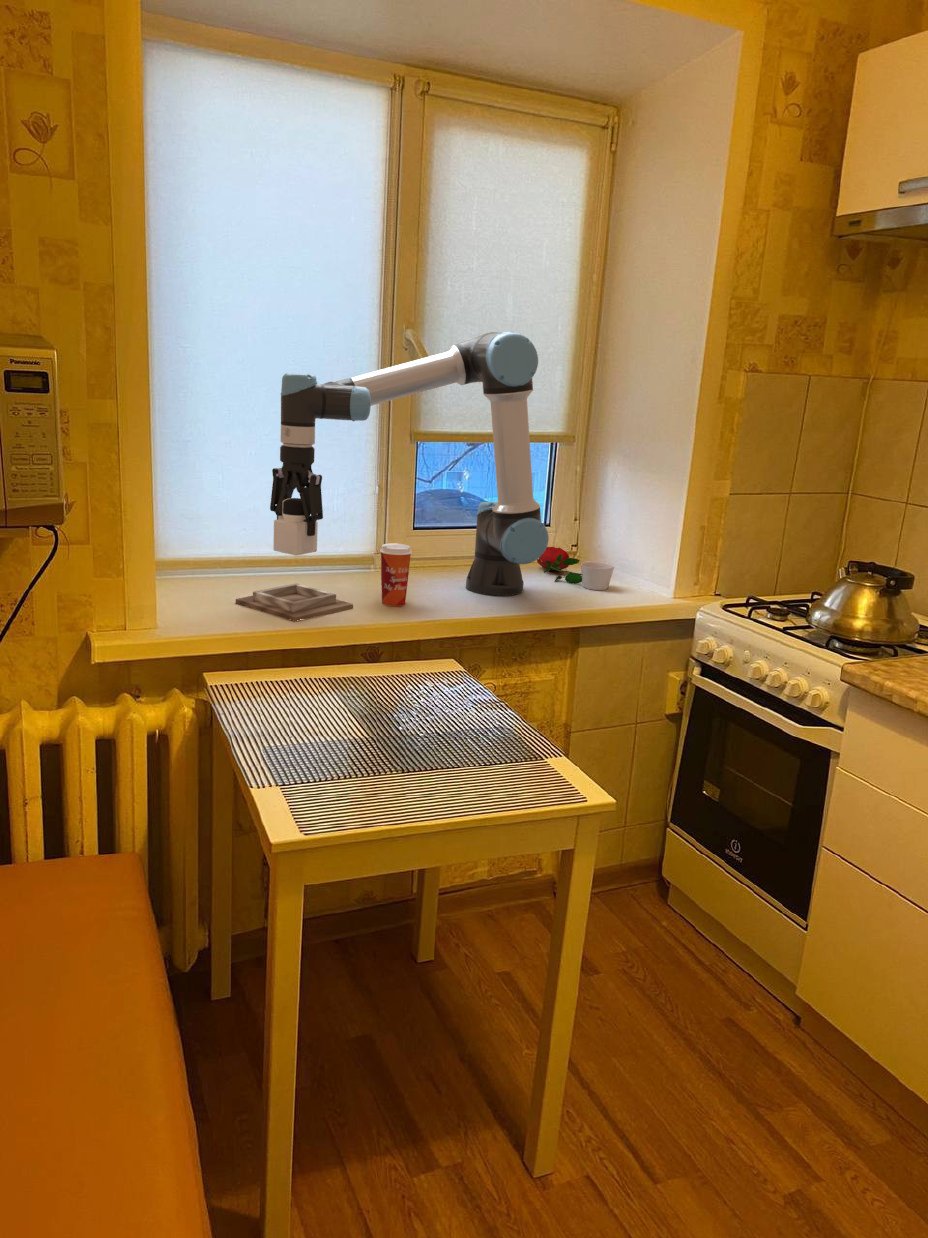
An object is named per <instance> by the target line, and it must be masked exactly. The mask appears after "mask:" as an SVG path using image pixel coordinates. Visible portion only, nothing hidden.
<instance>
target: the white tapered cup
mask: <svg viewBox="0 0 928 1238" xmlns="http://www.w3.org/2000/svg"><path fill="white" fill-rule="evenodd" d="M614 568H615V566H614V565H613V564H611V563H607V562H601V561H593V560H592V561H583V562H581V563H580V569H581V570H580V571H581V573H580V574H583V575H581V576H582V582H581V583H582V587H583V588H584V589H586V590H587V589H588V590H591V591H606V590H608V589H609V586H610V583H611V582H610V581H611V580H612V579H611V578H612V576H613V572H614V570H615V569H614Z"/></svg>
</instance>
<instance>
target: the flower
mask: <svg viewBox="0 0 928 1238" xmlns="http://www.w3.org/2000/svg"><path fill="white" fill-rule="evenodd" d="M536 562H537V564H539V565H540V567H542V568H544V571H543V572H545V573H547V572H549V571H550V570H552V571H555V570H557V571H556V572H562V573H566V574H563V577H562V575H560V574H559V575H557V576H556V578H555V579H554V582H556V581H558V580H560V579H564V580H565V582H566V583H568V582H569V583H568V584H572V583H574V584H573V585H575V584H580V583H582V575H583V574H582V573H577V572H572V571H568V569H567V568H568V567H569V566H573V565H576V564H578V563H579V562H580V559H578V558H574V557H570V555H569V553H567V551H565V550H564V549H563V548H561V547H555V546H547V548H546V550H545V552H544V553H543V554H542V555H541V556H540V557H539V558H538V559H537V560H536Z"/></svg>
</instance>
